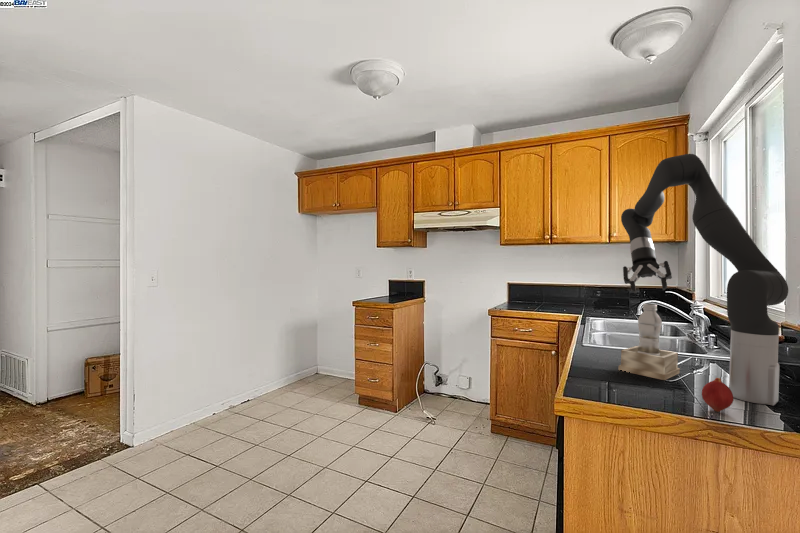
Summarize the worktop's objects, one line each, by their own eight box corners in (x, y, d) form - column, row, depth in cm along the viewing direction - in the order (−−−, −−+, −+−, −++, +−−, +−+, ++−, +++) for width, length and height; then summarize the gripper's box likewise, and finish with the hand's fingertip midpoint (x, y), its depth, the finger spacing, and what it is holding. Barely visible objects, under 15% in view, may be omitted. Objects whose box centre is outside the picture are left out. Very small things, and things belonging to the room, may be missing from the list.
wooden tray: (679, 373, 125) (680, 352, 125) (664, 380, 117) (665, 358, 117) (635, 364, 136) (635, 345, 135) (618, 370, 127) (619, 350, 127)
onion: (696, 405, 96) (697, 372, 96) (725, 408, 95) (726, 375, 95) (707, 414, 91) (708, 379, 91) (737, 417, 89) (739, 382, 89)
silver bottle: (646, 363, 131) (647, 303, 131) (665, 368, 125) (667, 305, 124) (631, 364, 129) (633, 303, 129) (650, 370, 123) (652, 305, 122)
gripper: (619, 250, 146) (624, 287, 137) (665, 242, 138) (673, 282, 129) (622, 261, 151) (627, 298, 142) (666, 254, 143) (675, 293, 134)
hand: (649, 290), depth 136 cm, fingers open, 8 cm apart
